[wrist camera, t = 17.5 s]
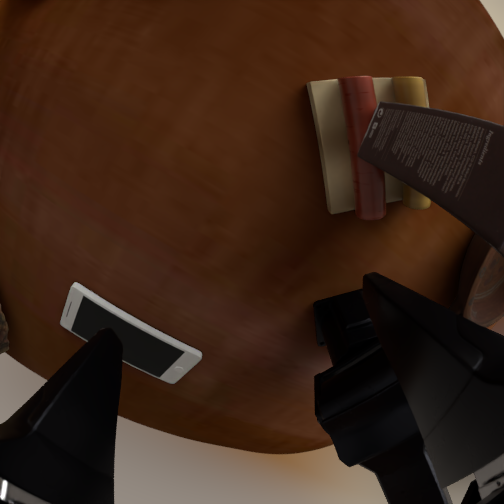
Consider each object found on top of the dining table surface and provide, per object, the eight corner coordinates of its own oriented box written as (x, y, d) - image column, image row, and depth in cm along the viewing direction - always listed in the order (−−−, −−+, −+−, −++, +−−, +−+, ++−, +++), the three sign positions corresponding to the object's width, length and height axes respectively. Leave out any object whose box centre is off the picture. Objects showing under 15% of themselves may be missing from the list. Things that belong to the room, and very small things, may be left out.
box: (352, 159, 16) (499, 254, 5) (378, 99, 14) (545, 127, 3) (416, 195, 17) (537, 290, 7) (439, 142, 15) (575, 206, 5)
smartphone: (173, 379, 31) (173, 385, 30) (62, 319, 25) (59, 325, 24) (203, 352, 28) (203, 358, 27) (75, 279, 23) (71, 285, 22)
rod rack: (426, 190, 21) (449, 203, 18) (327, 210, 21) (342, 227, 18) (418, 79, 16) (444, 79, 13) (306, 83, 16) (320, 78, 13)
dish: (410, 287, 26) (433, 316, 22) (513, 145, 18) (543, 157, 14) (456, 332, 32) (472, 354, 27) (536, 227, 24) (556, 243, 19)
